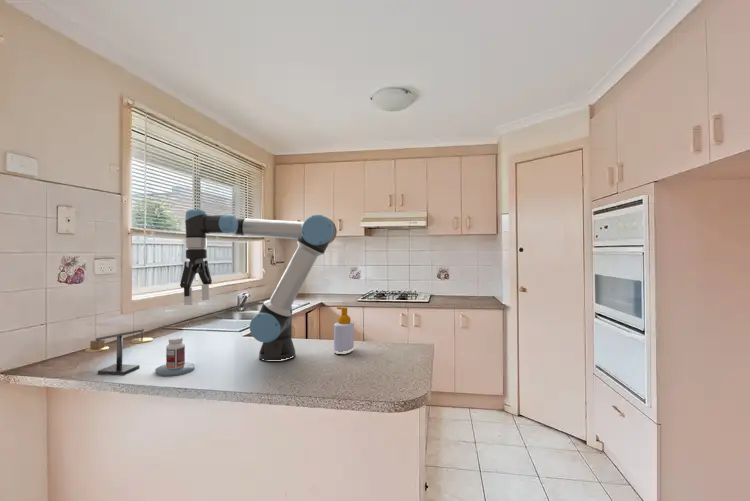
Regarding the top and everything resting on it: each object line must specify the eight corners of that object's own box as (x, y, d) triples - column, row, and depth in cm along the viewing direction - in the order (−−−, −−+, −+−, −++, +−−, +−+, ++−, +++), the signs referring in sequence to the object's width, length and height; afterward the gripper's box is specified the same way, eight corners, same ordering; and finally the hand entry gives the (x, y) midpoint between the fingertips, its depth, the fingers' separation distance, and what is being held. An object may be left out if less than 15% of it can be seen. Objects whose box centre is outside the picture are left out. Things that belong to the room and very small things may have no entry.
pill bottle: (183, 363, 144) (184, 335, 144) (185, 368, 139) (186, 338, 139) (165, 366, 141) (165, 337, 141) (166, 370, 136) (167, 340, 136)
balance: (157, 368, 142) (158, 327, 142) (142, 375, 134) (143, 331, 134) (97, 366, 143) (97, 325, 143) (79, 373, 135) (79, 329, 135)
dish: (201, 365, 146) (201, 362, 146) (181, 377, 133) (181, 373, 133) (169, 364, 147) (169, 361, 147) (147, 375, 134) (147, 372, 134)
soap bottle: (341, 347, 177) (341, 305, 177) (357, 349, 175) (357, 306, 175) (329, 354, 165) (330, 309, 165) (346, 356, 162) (347, 310, 162)
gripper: (202, 249, 159) (203, 298, 159) (168, 248, 134) (169, 307, 134) (219, 248, 159) (220, 298, 159) (189, 248, 134) (190, 306, 134)
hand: (197, 302), depth 147 cm, fingers open, 13 cm apart
